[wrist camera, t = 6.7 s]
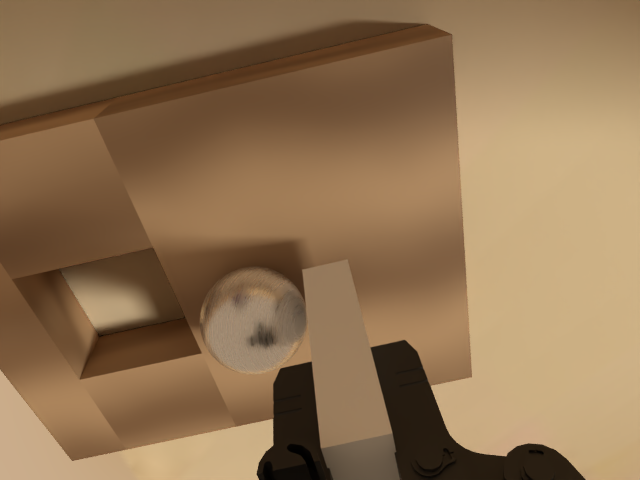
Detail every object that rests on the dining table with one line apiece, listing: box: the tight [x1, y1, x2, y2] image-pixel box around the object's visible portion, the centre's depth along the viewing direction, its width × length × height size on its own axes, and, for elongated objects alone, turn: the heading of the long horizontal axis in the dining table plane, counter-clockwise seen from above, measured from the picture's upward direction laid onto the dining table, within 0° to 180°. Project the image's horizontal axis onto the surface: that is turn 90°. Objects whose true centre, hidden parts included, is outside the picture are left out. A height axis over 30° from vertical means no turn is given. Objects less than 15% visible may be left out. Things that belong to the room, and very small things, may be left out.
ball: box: [200, 267, 307, 375], centre depth 16 cm, size 4×4×4 cm
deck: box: [0, 24, 472, 461], centre depth 18 cm, size 14×18×2 cm
